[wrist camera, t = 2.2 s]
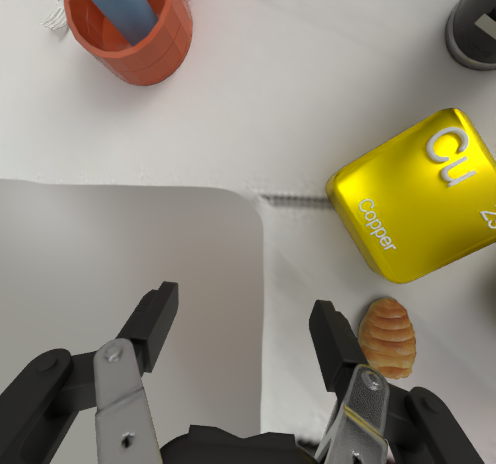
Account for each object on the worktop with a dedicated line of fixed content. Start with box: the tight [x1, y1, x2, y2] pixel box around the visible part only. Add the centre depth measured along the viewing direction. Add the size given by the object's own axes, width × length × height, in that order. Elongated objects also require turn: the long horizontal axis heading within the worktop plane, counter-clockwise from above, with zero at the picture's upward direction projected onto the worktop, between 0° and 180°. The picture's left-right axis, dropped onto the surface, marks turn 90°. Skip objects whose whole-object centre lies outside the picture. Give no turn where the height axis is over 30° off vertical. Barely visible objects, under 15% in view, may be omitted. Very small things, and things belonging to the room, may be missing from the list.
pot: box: [64, 0, 192, 86], centre depth 28 cm, size 15×15×6 cm
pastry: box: [358, 298, 416, 379], centre depth 26 cm, size 9×7×4 cm
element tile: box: [326, 108, 496, 284], centre depth 24 cm, size 15×15×5 cm
